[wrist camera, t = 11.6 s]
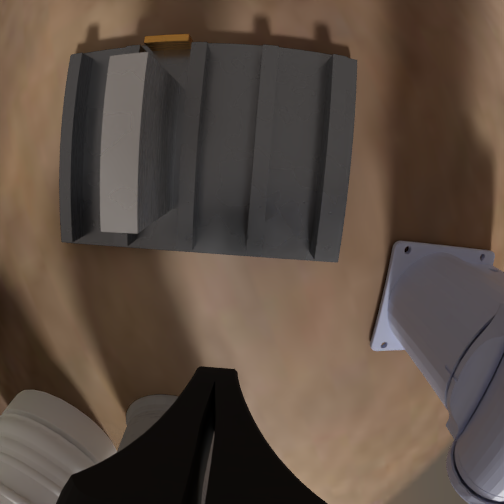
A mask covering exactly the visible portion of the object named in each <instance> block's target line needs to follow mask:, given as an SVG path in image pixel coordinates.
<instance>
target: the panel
mask: <svg viewBox="0 0 504 504" xmlns="http://www.w3.org/2000/svg"><path fill="white" fill-rule="evenodd" d="M179 92H180V84H179V83H178V82H177V81H176V80H175V79H174V78H173V77H172V76H171V75H170V74H169V73H168V71H167V70H166V69H165V68H164V67H163V66H162V65H161V64H160V63H159V62H158V61H157V60H156V59H155V58H154V57H153V56H152V55H151V54H150V53H149V52H141V53H131V54H122V55H114V56H110V59H109V66H108V73H107V81H106V89H105V98H104V109H103V121H102V135H101V156H100V225H101V232H116V233H134V234H138V233H139V232H141V231H142V230H143V229H145V228H146V227H148V226H149V225H150V224H152V223H153V222H155V221H156V220H157V219H159V218H160V217H162V216H163V215H164V214H166V213H167V212H169V211H170V210H172V209H173V184H174V161H175V143H176V128H177V115H178V103H179Z"/></svg>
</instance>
